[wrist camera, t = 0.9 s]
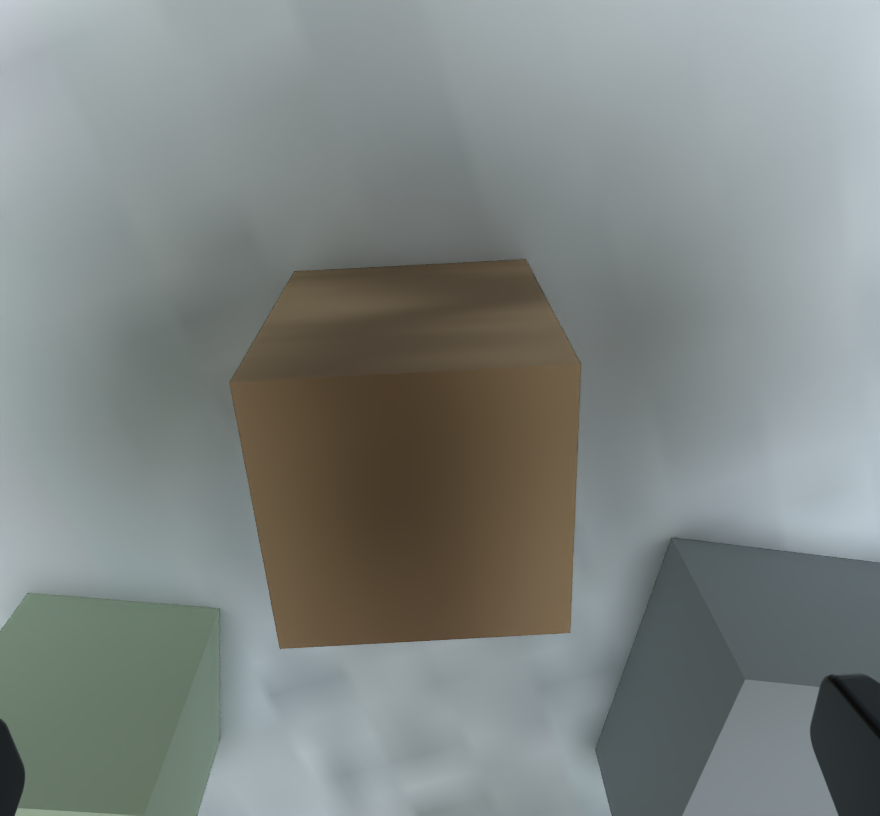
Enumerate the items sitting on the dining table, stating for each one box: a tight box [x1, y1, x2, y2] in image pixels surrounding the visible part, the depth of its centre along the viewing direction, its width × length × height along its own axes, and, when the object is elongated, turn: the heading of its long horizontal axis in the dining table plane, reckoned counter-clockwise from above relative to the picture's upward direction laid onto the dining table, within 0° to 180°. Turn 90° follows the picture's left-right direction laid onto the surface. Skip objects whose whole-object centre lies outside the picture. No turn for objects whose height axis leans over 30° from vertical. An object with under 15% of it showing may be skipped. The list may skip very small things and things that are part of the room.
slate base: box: [595, 538, 880, 816], centre depth 19 cm, size 8×8×5 cm
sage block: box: [0, 593, 220, 816], centre depth 18 cm, size 5×5×6 cm
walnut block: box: [229, 259, 581, 649], centre depth 14 cm, size 5×5×6 cm
